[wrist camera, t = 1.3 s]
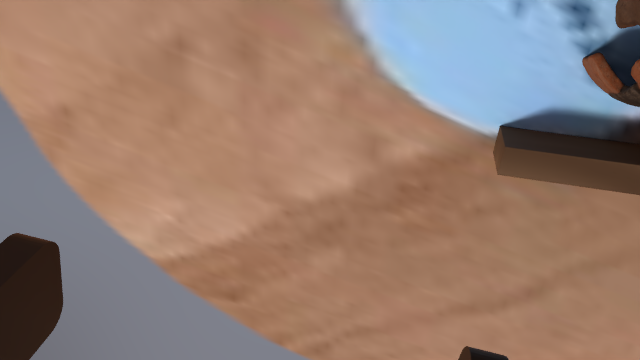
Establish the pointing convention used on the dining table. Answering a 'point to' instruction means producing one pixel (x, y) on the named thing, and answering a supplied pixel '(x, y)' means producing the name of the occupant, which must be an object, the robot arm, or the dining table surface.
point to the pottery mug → (631, 9)
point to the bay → (568, 160)
